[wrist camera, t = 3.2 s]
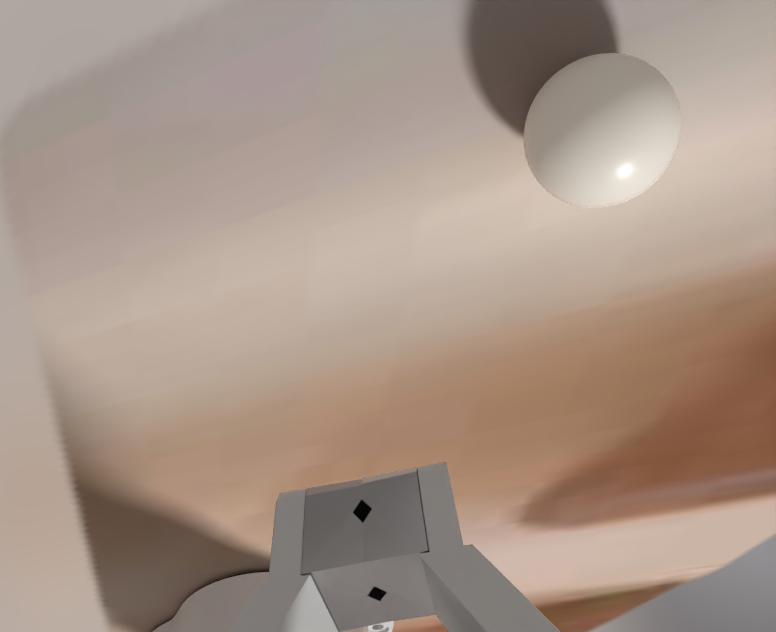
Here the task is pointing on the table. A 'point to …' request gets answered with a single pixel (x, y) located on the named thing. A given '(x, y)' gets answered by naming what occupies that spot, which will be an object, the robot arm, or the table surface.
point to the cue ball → (602, 130)
